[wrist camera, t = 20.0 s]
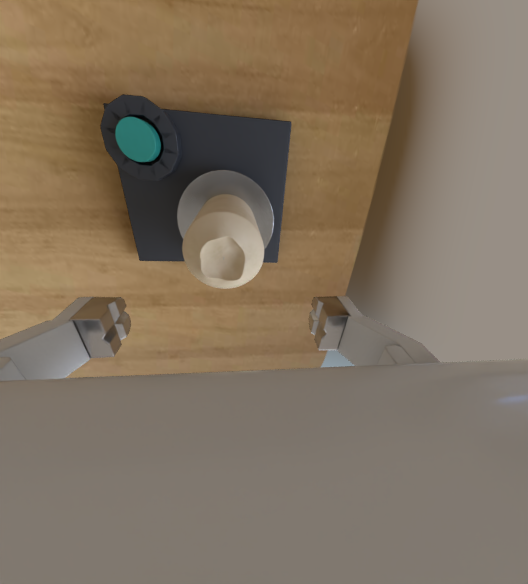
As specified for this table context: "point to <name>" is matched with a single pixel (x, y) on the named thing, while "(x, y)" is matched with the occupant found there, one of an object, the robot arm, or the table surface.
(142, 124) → the button
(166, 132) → the scale
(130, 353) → the table surface
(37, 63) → the table surface
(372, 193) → the table surface
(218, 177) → the silver metal disc
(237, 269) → the candle
